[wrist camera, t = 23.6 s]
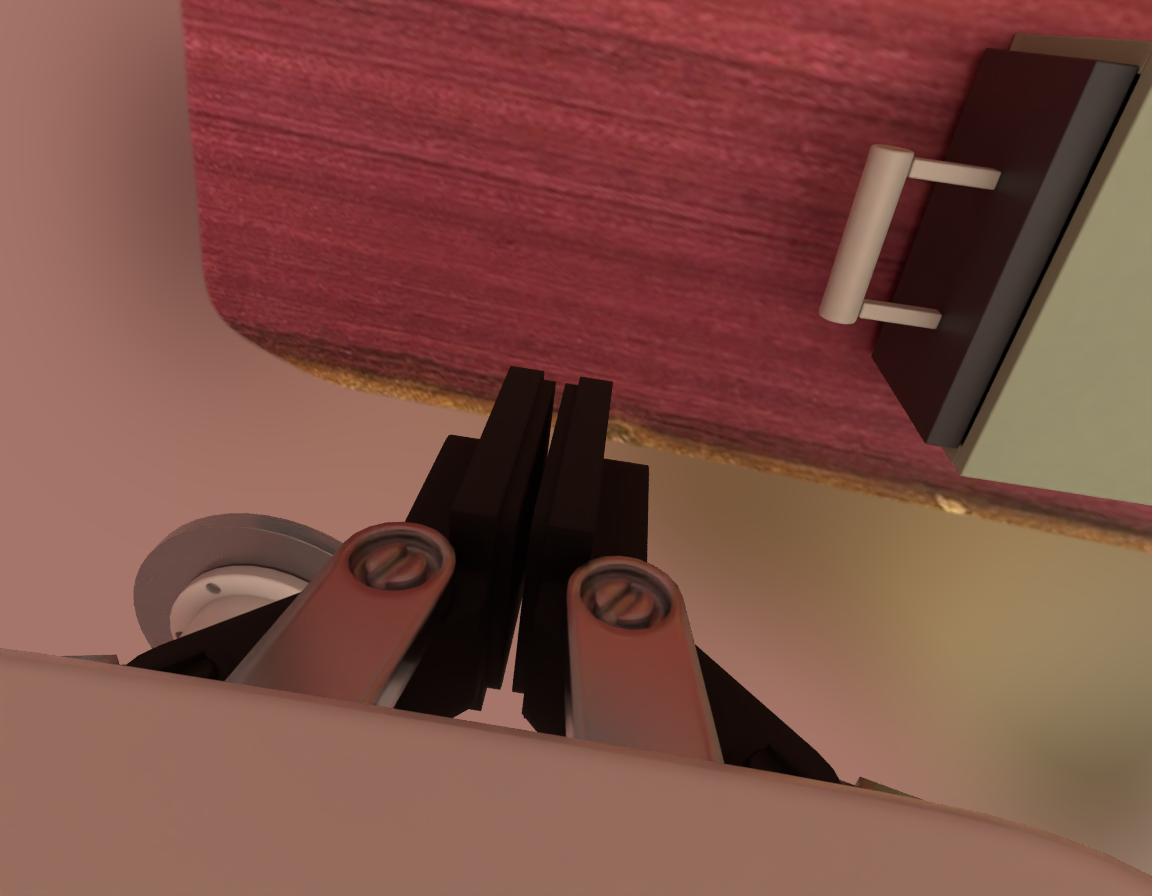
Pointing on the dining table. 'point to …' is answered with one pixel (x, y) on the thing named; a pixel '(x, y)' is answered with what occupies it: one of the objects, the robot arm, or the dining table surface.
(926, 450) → the dining table surface
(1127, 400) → the small drawer cabinet
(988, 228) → the pull-out tray
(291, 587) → the robot arm
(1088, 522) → the dining table surface
